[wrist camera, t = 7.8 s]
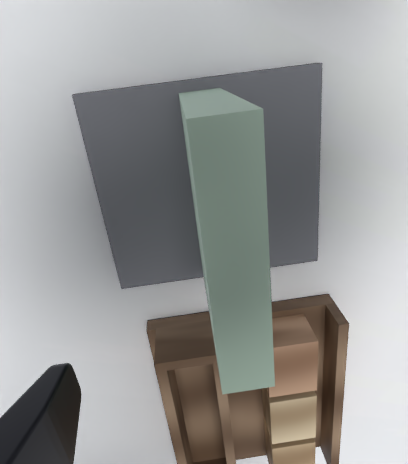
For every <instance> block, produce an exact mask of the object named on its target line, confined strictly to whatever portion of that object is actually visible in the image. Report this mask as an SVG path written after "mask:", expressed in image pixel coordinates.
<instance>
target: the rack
mask: <svg viewBox="0 0 408 464" xmlns="http://www.w3.org/2000/svg"><path fill="white" fill-rule="evenodd" d="M271 304H272V319H273V318H280V317H287V316H293V315H300V314H304V315H305V317H306V319H307V321H308V323H309V325H310V326H311V328H312V330H313V332H314V334H315V336H316V338H317V339H318V372H317V390H316V391H315V393H316V395H317V407H316V437H315V438H314V440H315V447H319V446H320V447H321V449H322V452H323V455H324V457H325V460H326V462H327V464H339V452H340V439H341V425H342V412H343V398H344V384H345V371H346V357H347V344H348V330H349V323H348V321H347V320H346V319H345V317H344V316H343V314H342V313H341V311H340V310H339V308H338V307H337V305H336V304H335V303H334V301H333V300H332V298H331V297H330V295H329V294H325V295H318V296H312V297H305V298H298V299H291V300H284V301H277V302H271ZM147 334H148V339H149V343H150V347H151V351H152V356H153V360H154V366H155V371H156V375H157V379H158V383H159V388H160V392H161V396H162V401H163V405H164V409H165V413H166V418H167V422H168V426H169V430H170V435H171V439H172V443H173V448H174V452H175V456H176V460H177V464H236V461H235V460H238V459H244V458H250V457H256V456H263V455H267V454H266V446H265V430H264V417H265V416H264V413H263V399H262V389H255V390H249V391H242V392H236V393H229V394H223V395H222V389H221V383H220V376H219V370H218V364H217V357H216V351H215V345H214V338H213V332H212V326H211V319H210V313H209V312H203V313H196V314H189V315H182V316H175V317H168V318H162V319H155V320H148V322H147Z"/></svg>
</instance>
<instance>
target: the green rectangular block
mask: <svg viewBox="0 0 408 464" xmlns="http://www.w3.org/2000/svg"><path fill="white" fill-rule="evenodd" d="M179 100H180V107H181V114H182V122H183V129H184V136H185V144H186V151H187V158H188V166H189V173H190V180H191V188H192V195H193V202H194V210H195V217H196V225H197V232H198V239H199V247H200V254H201V261H202V269H203V275H204V281H205V288H206V294H207V300H208V307H209V313H210V319H211V326H212V332H213V338H214V345H215V351H216V357H217V364H218V370H219V376H220V383H221V389H222V395H223V394H229V393H236V392H242V391H249V390H255V389H262V388H268V387H275V374H274V351H273V327H272V304H271V280H270V256H269V233H268V209H267V185H266V162H265V138H264V115H263V108H261V107H259V106H257V105H255V104H252V103H250V102H248V101H246V100H244V99H242V98H240V97H238V96H236V95H234V94H232V93H230V92H228V91H225V90H223V89H221V88H214V89H206V90H199V91H191V92H183V93H179Z"/></svg>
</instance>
